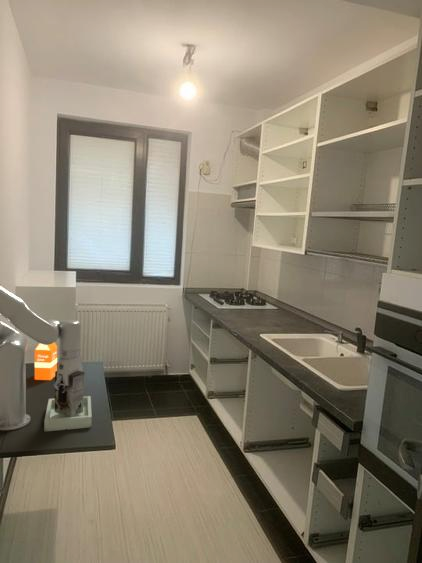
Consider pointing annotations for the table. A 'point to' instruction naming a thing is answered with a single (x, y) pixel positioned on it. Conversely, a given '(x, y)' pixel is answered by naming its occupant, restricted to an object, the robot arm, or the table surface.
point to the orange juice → (45, 361)
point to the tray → (64, 422)
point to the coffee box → (71, 396)
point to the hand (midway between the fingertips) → (69, 398)
